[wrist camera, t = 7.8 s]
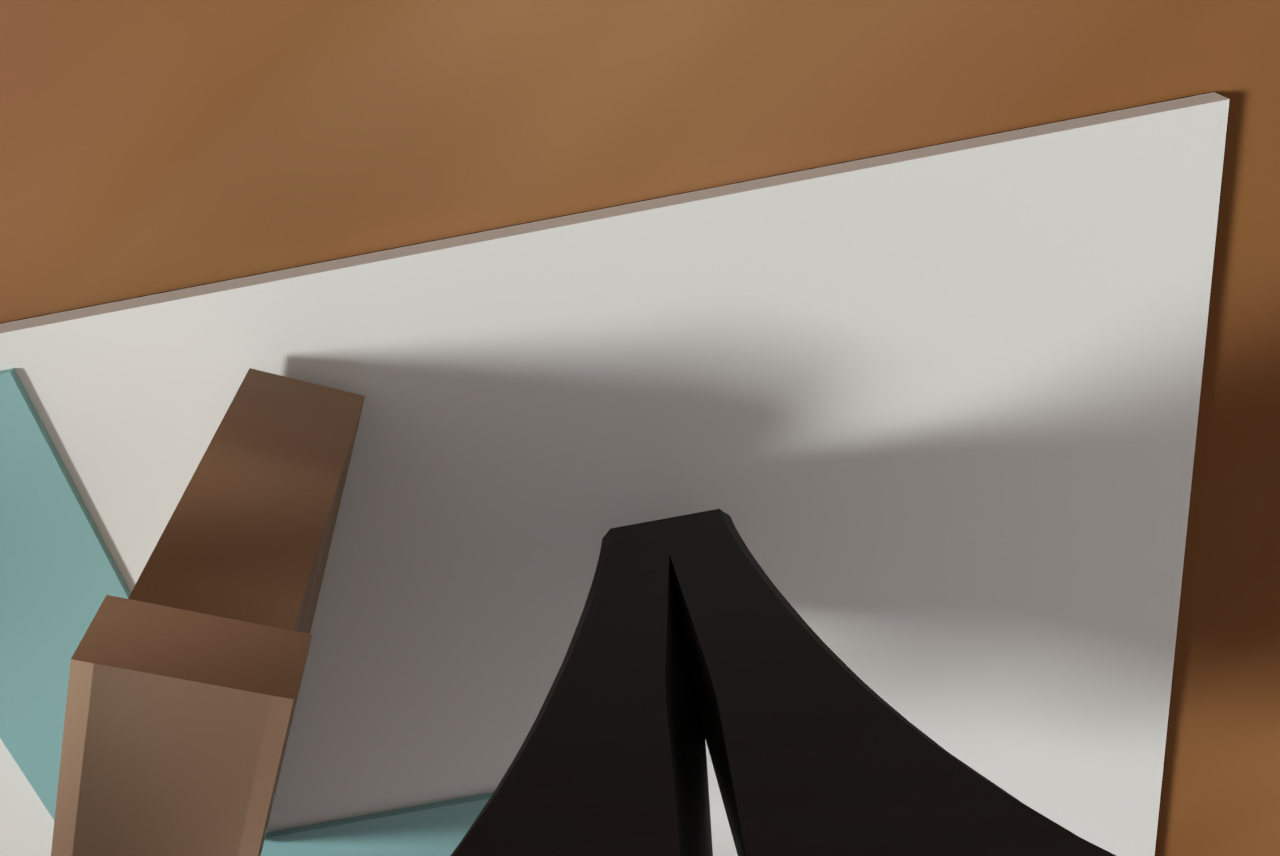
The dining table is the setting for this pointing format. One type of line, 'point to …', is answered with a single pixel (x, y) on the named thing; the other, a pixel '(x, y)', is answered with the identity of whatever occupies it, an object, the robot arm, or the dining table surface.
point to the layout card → (679, 464)
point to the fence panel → (209, 640)
